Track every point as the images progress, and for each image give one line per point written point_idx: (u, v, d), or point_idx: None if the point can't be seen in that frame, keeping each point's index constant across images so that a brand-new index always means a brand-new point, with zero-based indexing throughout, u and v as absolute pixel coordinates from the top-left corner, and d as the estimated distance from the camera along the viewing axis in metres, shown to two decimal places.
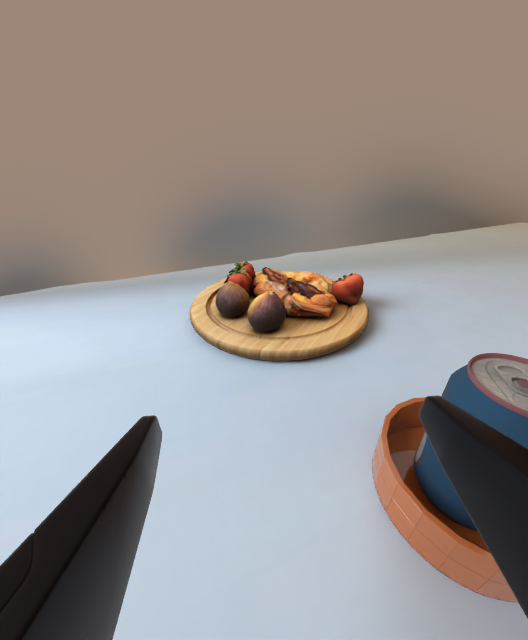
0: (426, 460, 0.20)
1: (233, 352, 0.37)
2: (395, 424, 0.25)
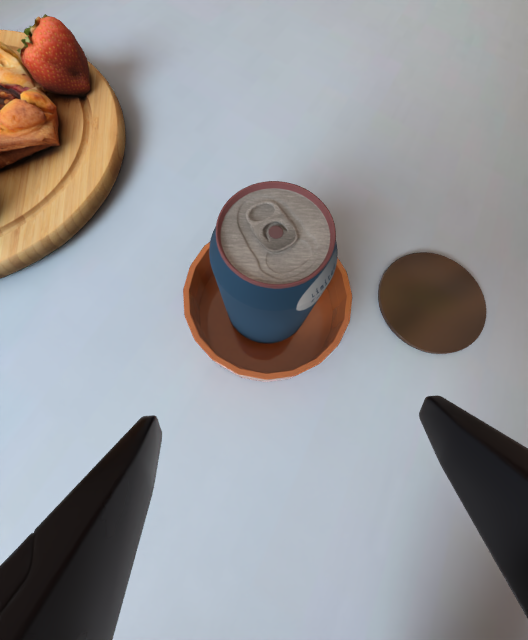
0: (231, 318, 0.20)
1: None
2: (201, 280, 0.23)
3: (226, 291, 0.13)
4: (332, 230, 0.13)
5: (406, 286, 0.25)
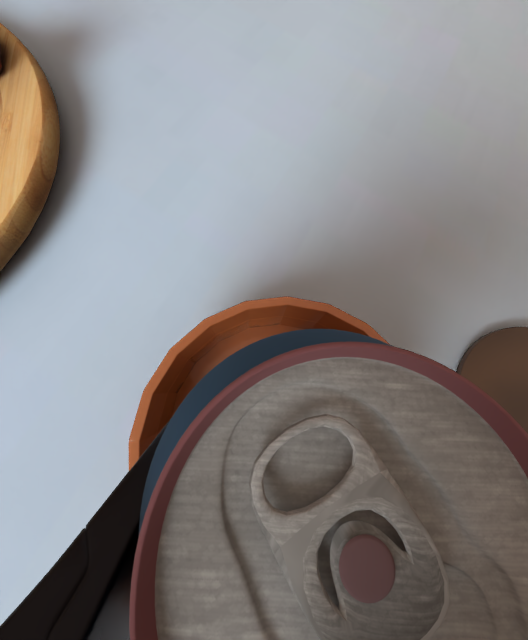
0: None
1: None
2: (169, 393, 0.13)
3: None
4: None
5: (498, 386, 0.16)
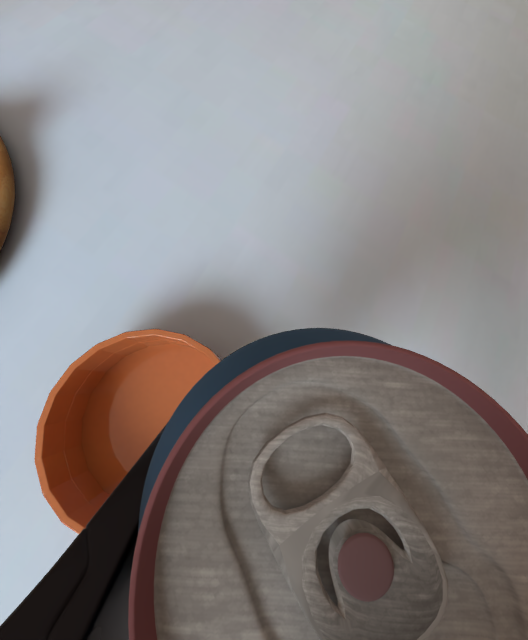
0: None
1: None
2: (78, 394, 0.19)
3: None
4: None
5: None
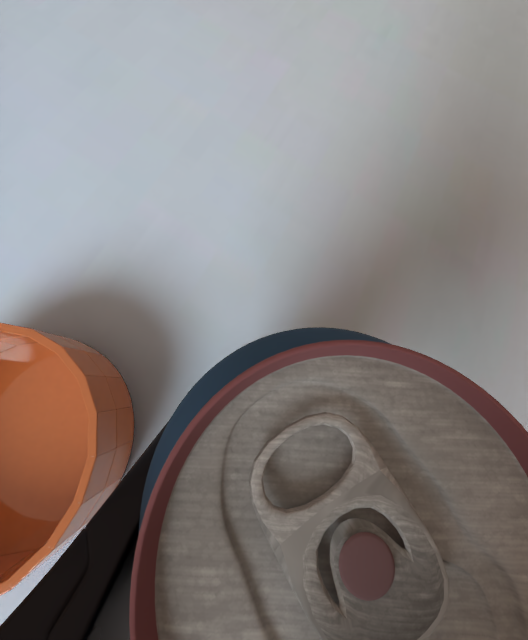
0: None
1: None
2: None
3: None
4: None
5: None
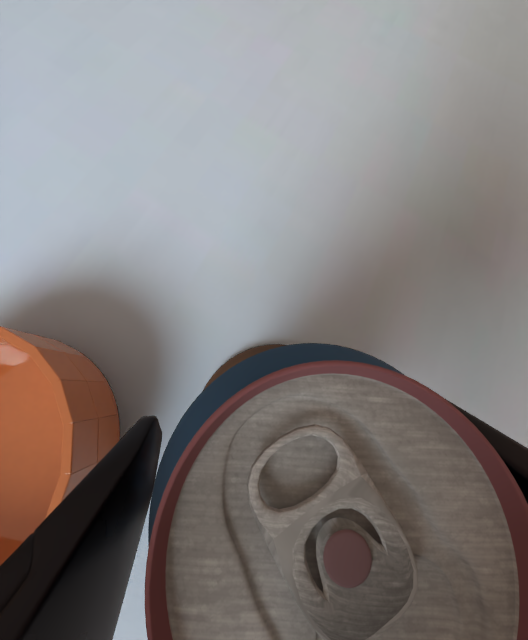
0: None
1: None
2: None
3: None
4: None
5: None
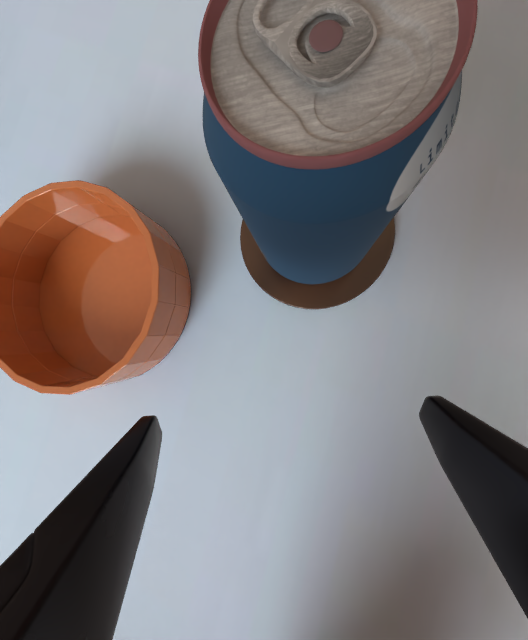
0: (268, 258, 0.14)
1: None
2: (18, 280, 0.19)
3: (251, 206, 0.07)
4: None
5: None
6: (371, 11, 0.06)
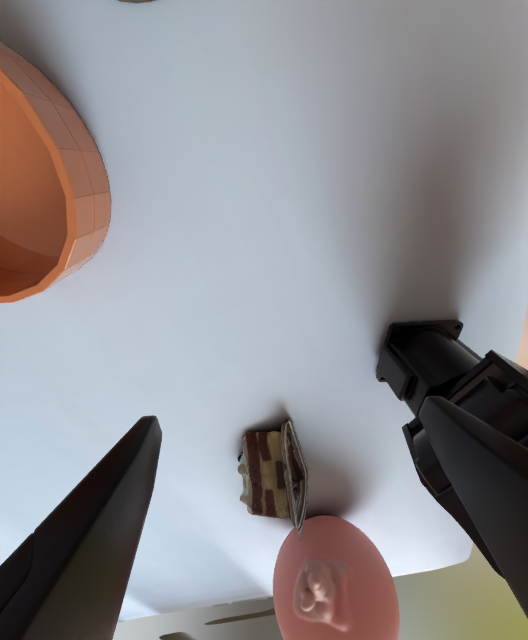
0: None
1: None
2: None
3: None
4: None
5: None
6: None
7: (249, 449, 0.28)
